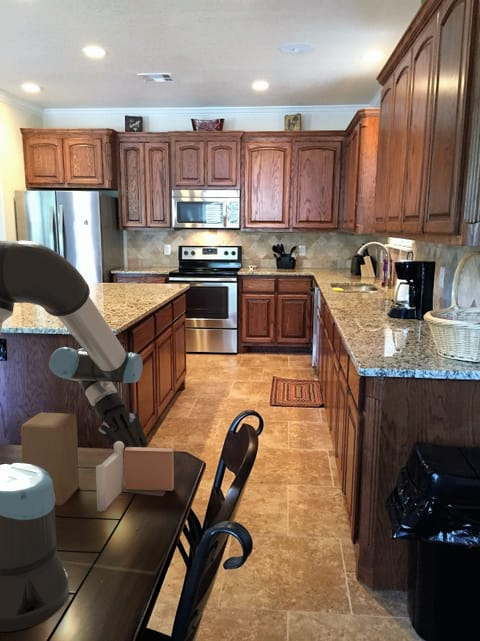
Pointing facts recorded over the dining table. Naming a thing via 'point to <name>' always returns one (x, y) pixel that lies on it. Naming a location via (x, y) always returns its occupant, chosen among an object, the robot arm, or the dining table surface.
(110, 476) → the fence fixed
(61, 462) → the wooden block
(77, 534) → the dining table surface
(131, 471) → the terracotta rectangular slab
